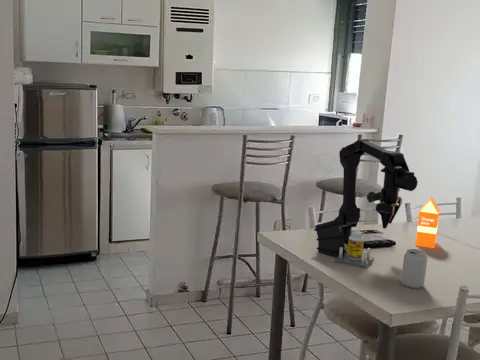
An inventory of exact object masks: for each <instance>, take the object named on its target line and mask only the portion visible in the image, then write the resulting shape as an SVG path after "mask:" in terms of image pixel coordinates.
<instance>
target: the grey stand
mask: <svg viewBox="0 0 480 360" xmlns="http://www.w3.org/2000/svg"><path fill="white" fill-rule="evenodd" d="M347 248H348V243H344V250H346V253H344V256H342V254H343V247H340V251H339V257H337V258H334V260H333V263H336V264H341V265H347V266H351V267H356V268H363V269H367V268H368V267H369V265H370V264H371V263H372V262H373V261H374V260H375V259H374V258H375V257H374V256H371V250H372V249H371V248H370V247H368V248H367V249H366V251H364V252H363V254H362V259H360V260H352V259H349V258H348V257H347Z"/></svg>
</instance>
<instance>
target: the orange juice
mask: <svg viewBox="0 0 480 360" xmlns="http://www.w3.org/2000/svg"><path fill="white" fill-rule="evenodd" d="M440 212H441V210H440V208H439V206H438V204H437V203H436V201H435V199H434V197H433V196H431V197H430V198H429V199H428V201H426V202H425V204H424V205H422V207H421V208H420V210H419V213H418V219H417V220H418V221H417V227H416V228H417V229H416V238H415V246H418V247H425V248H432V249H434V248H435V247H436V243H437V235H438V228H439V227H438V226H439V219H440V217H439V216H440Z"/></svg>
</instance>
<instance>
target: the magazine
mask: <svg viewBox="0 0 480 360" xmlns="http://www.w3.org/2000/svg"><path fill="white" fill-rule="evenodd" d="M341 224H343V223H342V222H341V221H340V219H337V220H335V219H332V220H330V221H326V222H324V223H320V224H317V225H314V227H315V228H314V229H313V230H314V232H316V236H317V238H316V241H317V243H318V246H317V247H316V250H317V253H319V254H321V255H325V256H328V257H331V258H334V259H335V258H337V257H339V251H340V247H343V254H342V256H344V253H346V252H347V249H346V250H344V244H345V243H344V237H345V235H343V229H342V225H341Z"/></svg>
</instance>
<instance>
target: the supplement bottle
mask: <svg viewBox="0 0 480 360" xmlns="http://www.w3.org/2000/svg"><path fill="white" fill-rule="evenodd" d="M364 241H365V239H364V237H363V232H362V231H359V230H351V236H350V237H349V241H348V243H347V250H346V252H347V257H348V258H349V259H352V260H360V259H362V255H363V253H364V252H363V251H364V244H365V243H364Z"/></svg>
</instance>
